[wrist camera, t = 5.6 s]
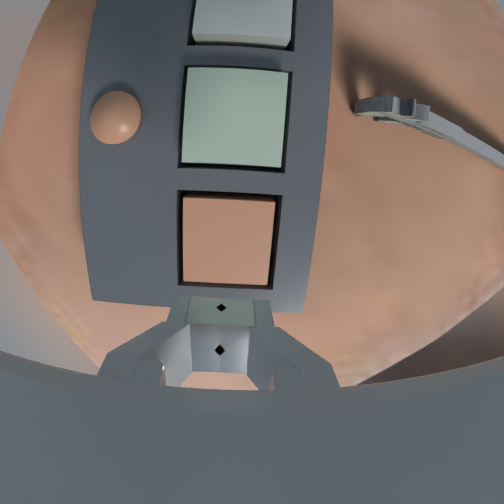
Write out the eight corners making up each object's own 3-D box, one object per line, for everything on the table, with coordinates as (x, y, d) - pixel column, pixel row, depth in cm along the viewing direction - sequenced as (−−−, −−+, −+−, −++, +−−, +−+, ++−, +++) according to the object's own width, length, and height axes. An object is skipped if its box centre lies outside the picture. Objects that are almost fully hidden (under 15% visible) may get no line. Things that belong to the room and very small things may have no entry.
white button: (207, -15, 13) (202, -37, 10) (286, -10, 13) (294, -31, 11) (198, 49, 15) (191, 33, 12) (281, 54, 15) (290, 39, 12)
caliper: (349, 115, 19) (391, 109, 13) (351, 101, 18) (393, 90, 13) (517, 177, 21) (560, 191, 15) (518, 167, 20) (562, 180, 14)
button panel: (126, -15, 14) (105, -41, 9) (317, -13, 15) (335, -41, 10) (112, 275, 22) (89, 304, 18) (292, 284, 23) (304, 317, 19)
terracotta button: (191, 188, 19) (183, 197, 16) (269, 192, 19) (275, 202, 16) (190, 261, 21) (183, 281, 18) (262, 265, 21) (267, 284, 18)
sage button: (195, 78, 16) (188, 67, 13) (279, 83, 16) (288, 73, 13) (190, 158, 17) (181, 162, 14) (273, 163, 18) (280, 167, 15)
